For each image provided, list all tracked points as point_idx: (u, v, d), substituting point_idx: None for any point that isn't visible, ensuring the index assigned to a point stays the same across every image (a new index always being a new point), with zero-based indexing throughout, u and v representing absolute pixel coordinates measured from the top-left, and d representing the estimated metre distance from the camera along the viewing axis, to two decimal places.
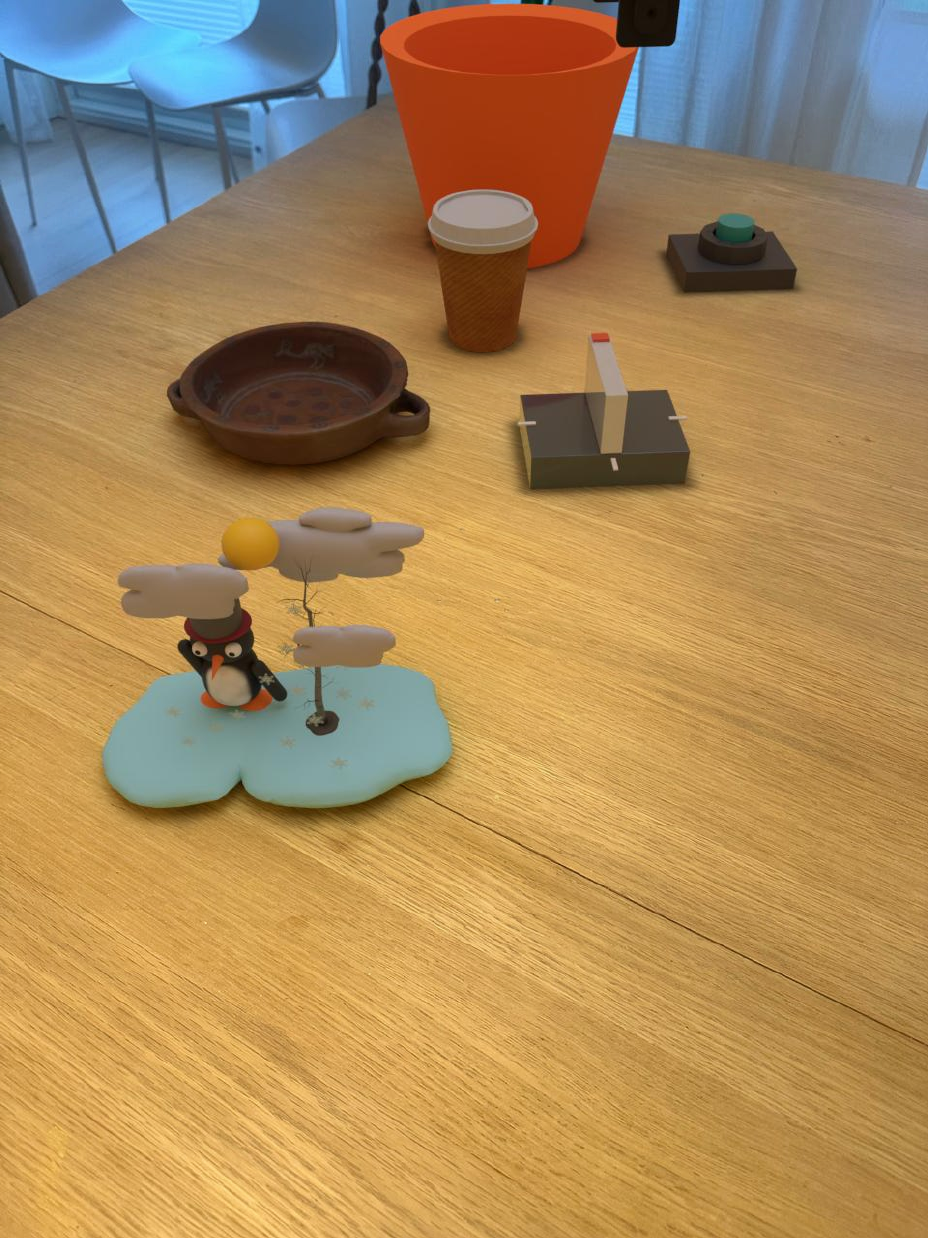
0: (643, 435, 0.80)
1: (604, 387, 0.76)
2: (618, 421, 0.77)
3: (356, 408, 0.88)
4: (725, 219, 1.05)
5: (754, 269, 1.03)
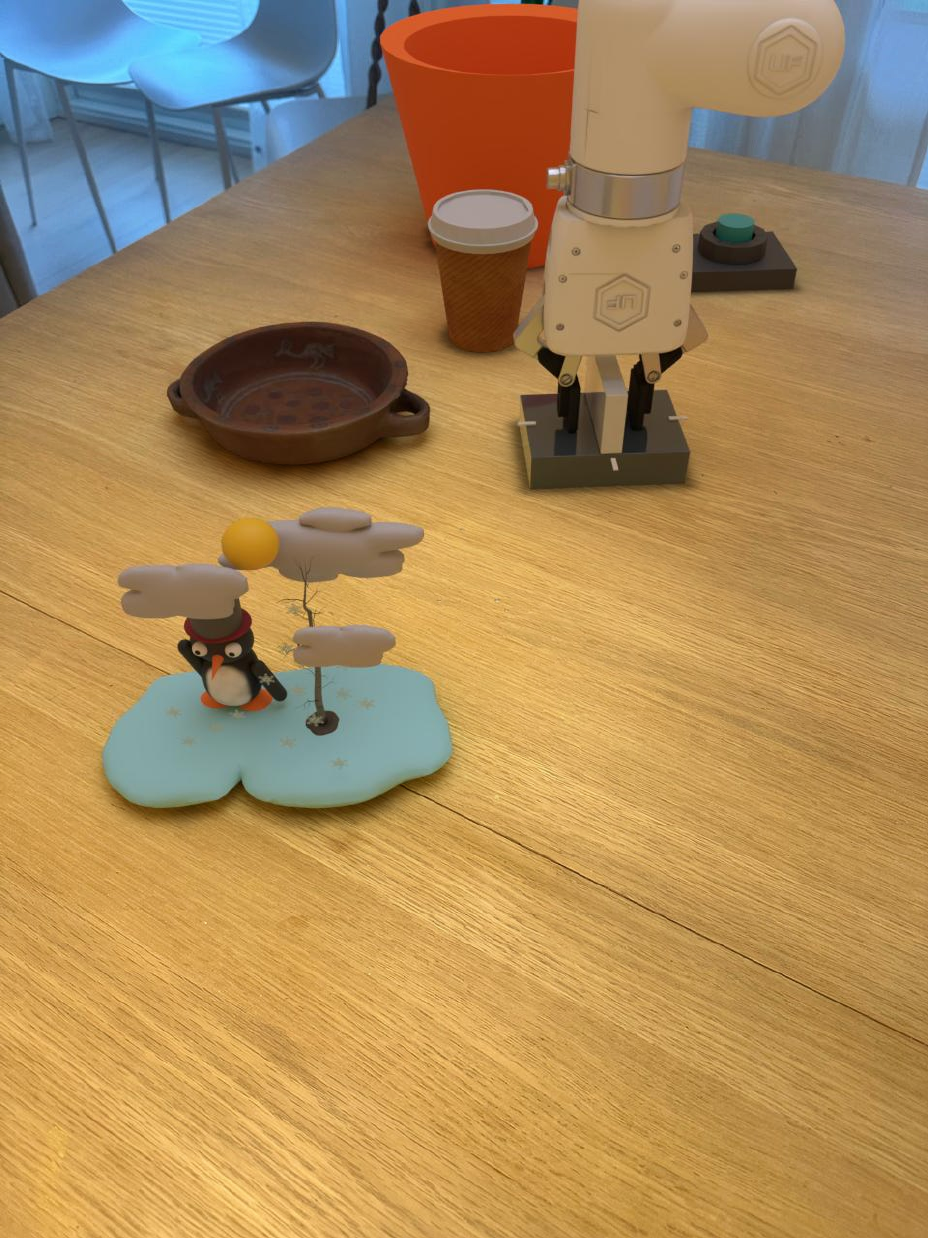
0: (643, 435, 0.80)
1: (604, 387, 0.76)
2: (618, 421, 0.77)
3: (356, 408, 0.88)
4: (725, 219, 1.05)
5: (754, 269, 1.03)
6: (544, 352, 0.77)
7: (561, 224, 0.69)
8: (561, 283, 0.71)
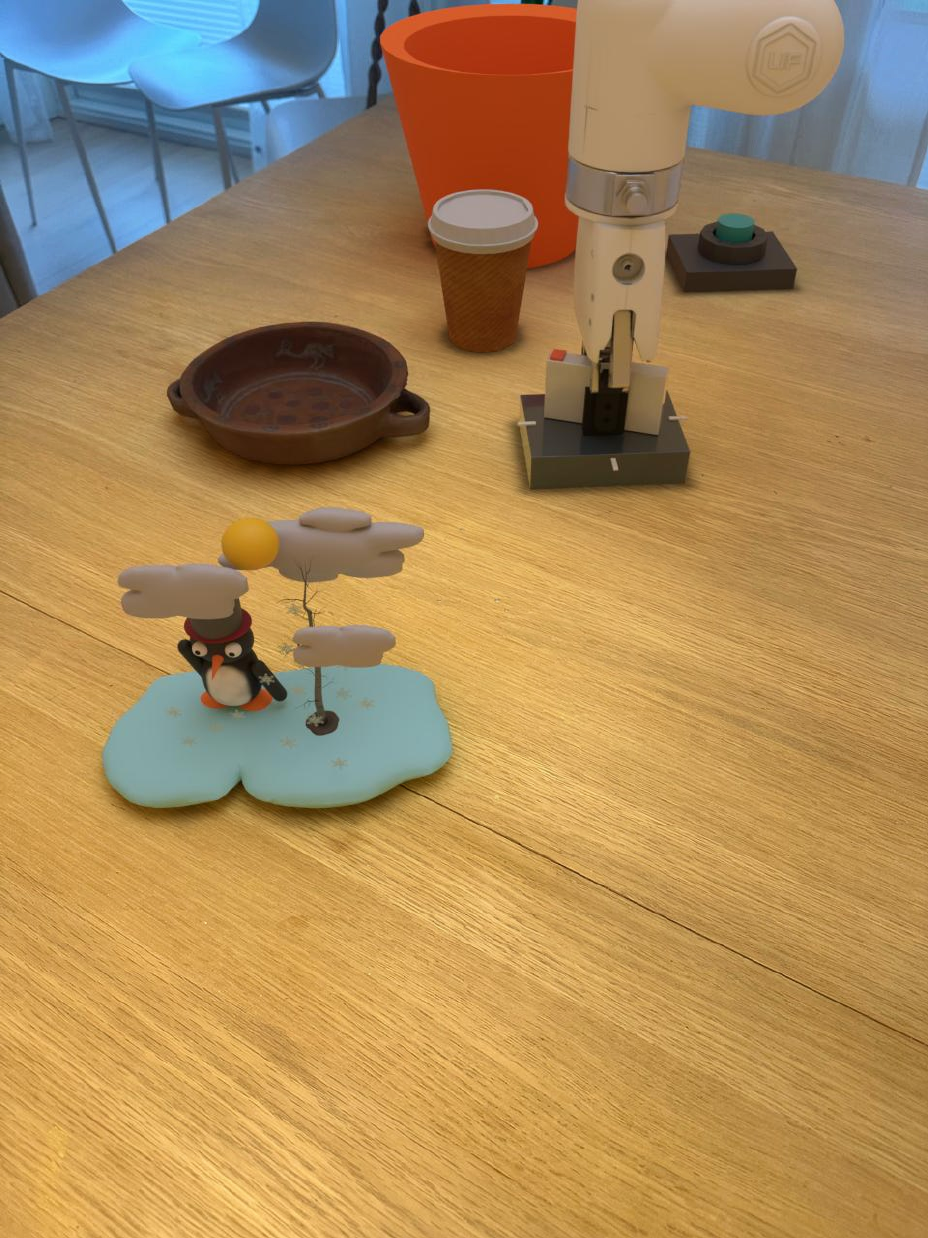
0: (643, 435, 0.80)
1: (651, 374, 0.77)
2: (664, 396, 0.79)
3: (356, 408, 0.88)
4: (725, 219, 1.05)
5: (754, 269, 1.03)
6: None
7: (657, 235, 0.68)
8: (662, 289, 0.70)
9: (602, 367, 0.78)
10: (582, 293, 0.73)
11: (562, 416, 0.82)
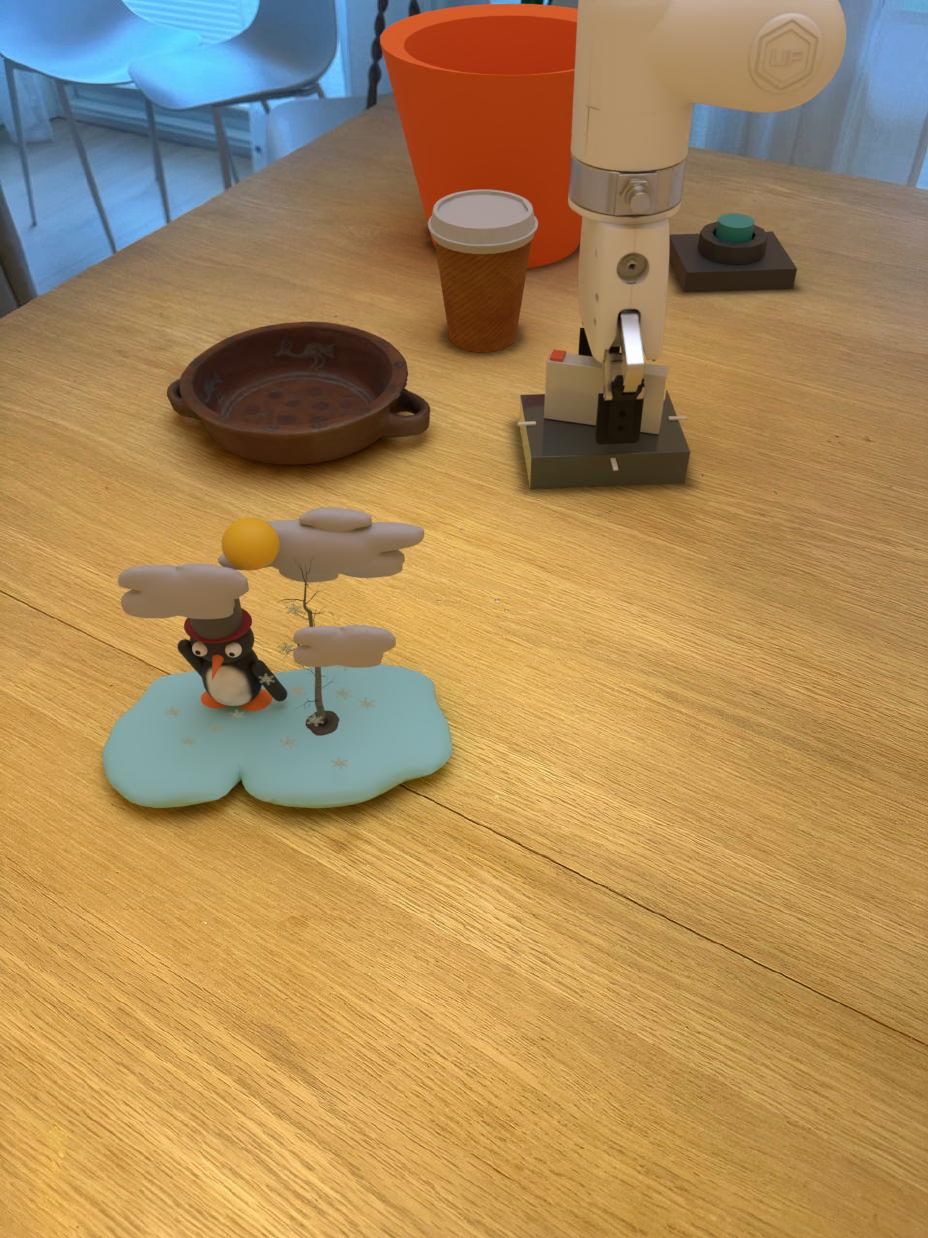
0: (643, 435, 0.80)
1: (651, 374, 0.77)
2: None
3: (356, 408, 0.88)
4: (725, 219, 1.05)
5: (754, 269, 1.03)
6: None
7: (661, 234, 0.68)
8: (667, 288, 0.70)
9: None
10: (586, 293, 0.73)
11: (562, 417, 0.82)
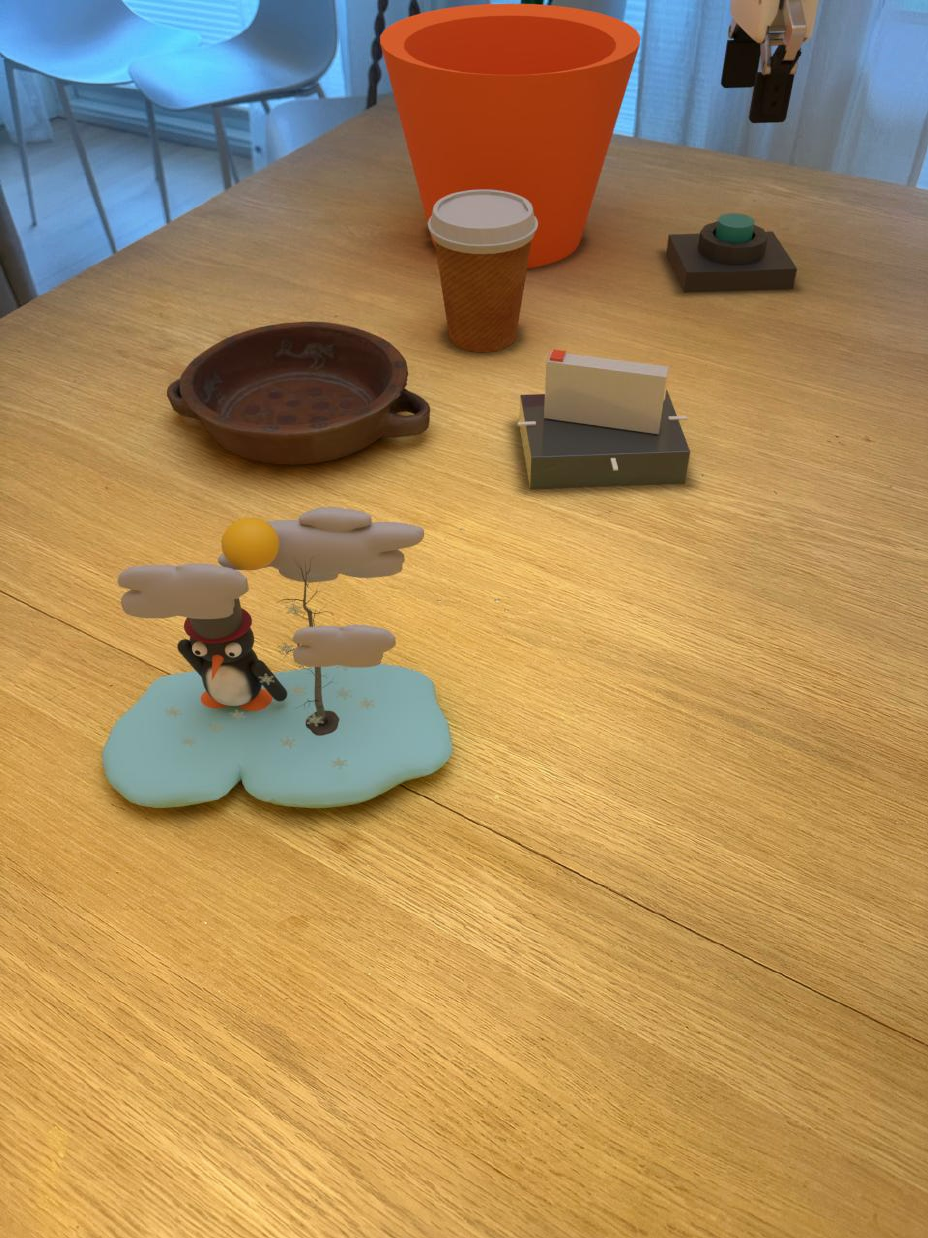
0: (643, 435, 0.80)
1: (651, 374, 0.77)
2: None
3: (356, 408, 0.88)
4: (725, 219, 1.05)
5: (754, 269, 1.03)
6: None
7: None
8: None
9: (602, 367, 0.78)
10: None
11: (562, 417, 0.82)
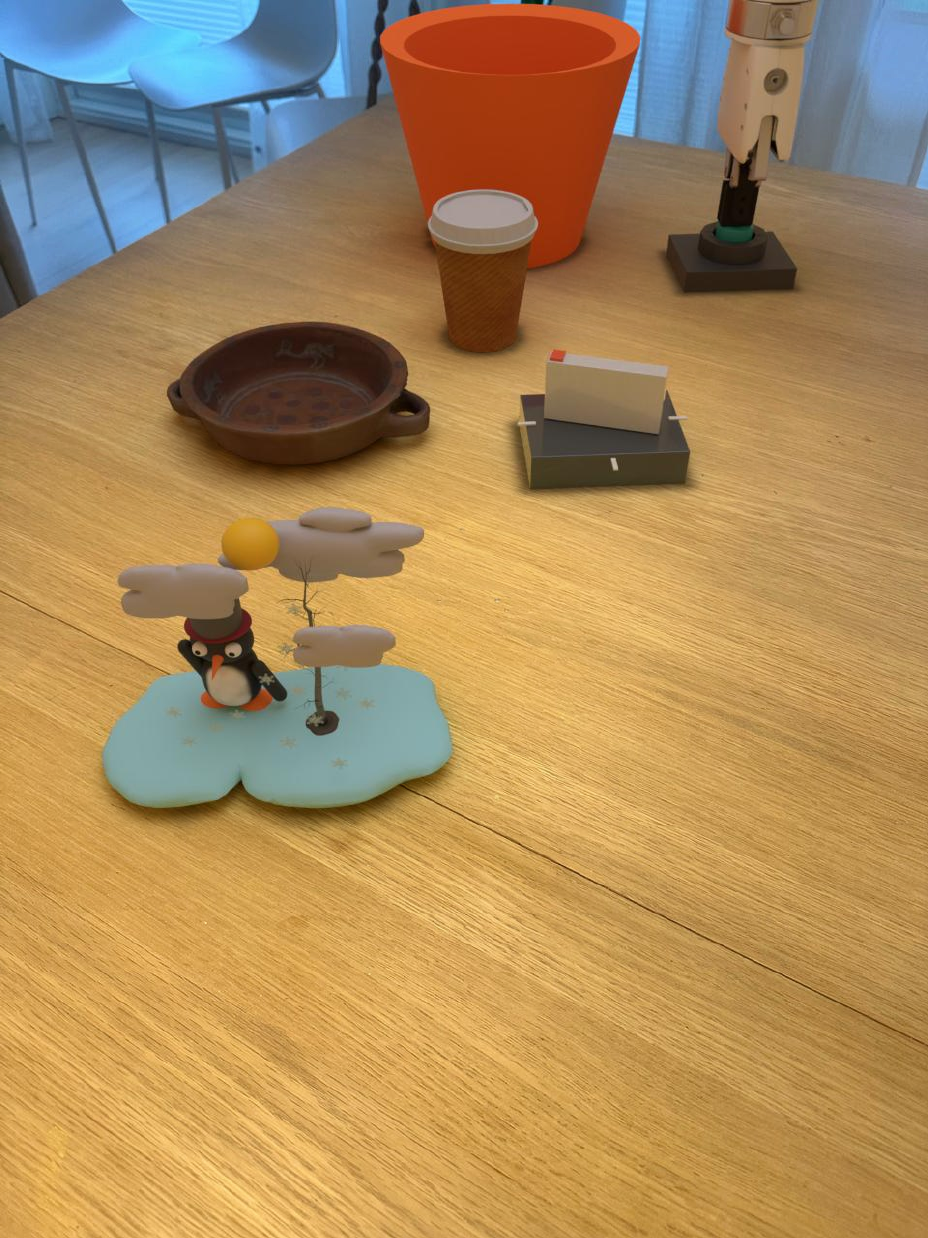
0: (643, 435, 0.80)
1: (651, 374, 0.77)
2: None
3: (356, 408, 0.88)
4: None
5: (754, 269, 1.03)
6: None
7: (799, 54, 0.90)
8: None
9: (602, 367, 0.78)
10: (734, 107, 0.96)
11: (562, 417, 0.82)
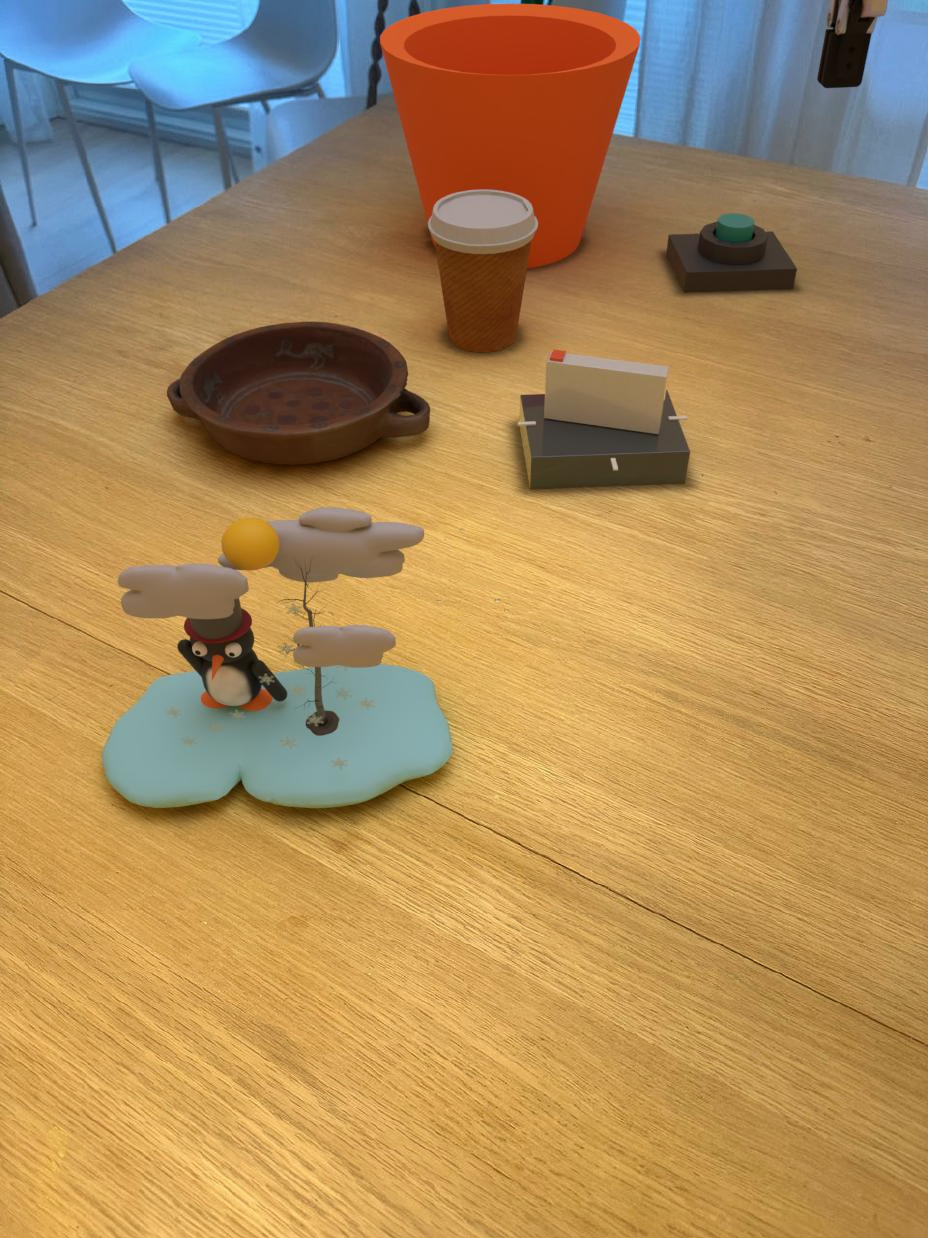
0: (643, 435, 0.80)
1: (651, 374, 0.77)
2: None
3: (356, 408, 0.88)
4: (725, 219, 1.05)
5: (754, 269, 1.03)
6: None
7: None
8: None
9: (602, 367, 0.78)
10: None
11: (562, 417, 0.82)
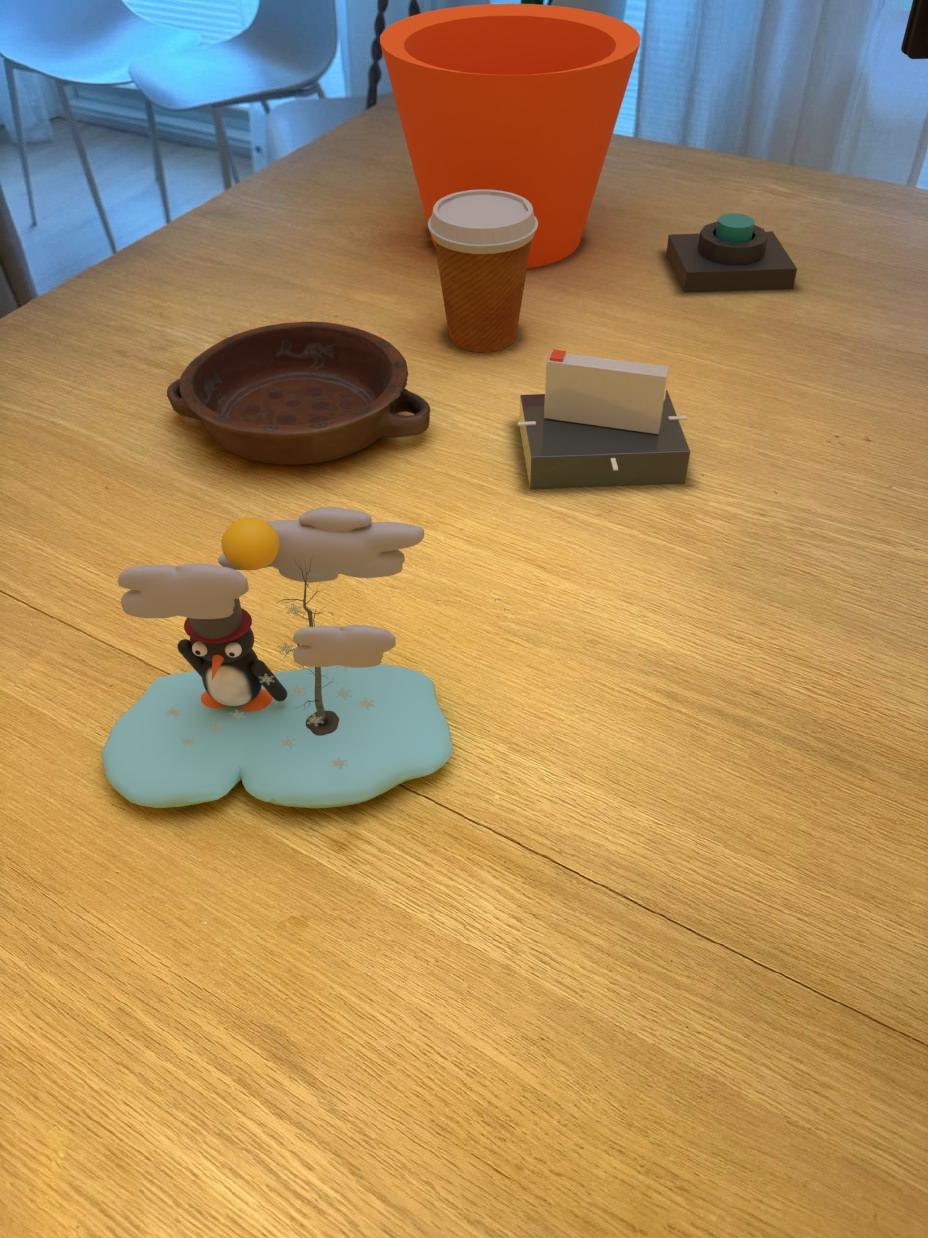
0: (643, 435, 0.80)
1: (651, 374, 0.77)
2: None
3: (356, 408, 0.88)
4: (725, 219, 1.05)
5: (754, 269, 1.03)
6: None
7: None
8: None
9: (602, 367, 0.78)
10: None
11: (562, 417, 0.82)
